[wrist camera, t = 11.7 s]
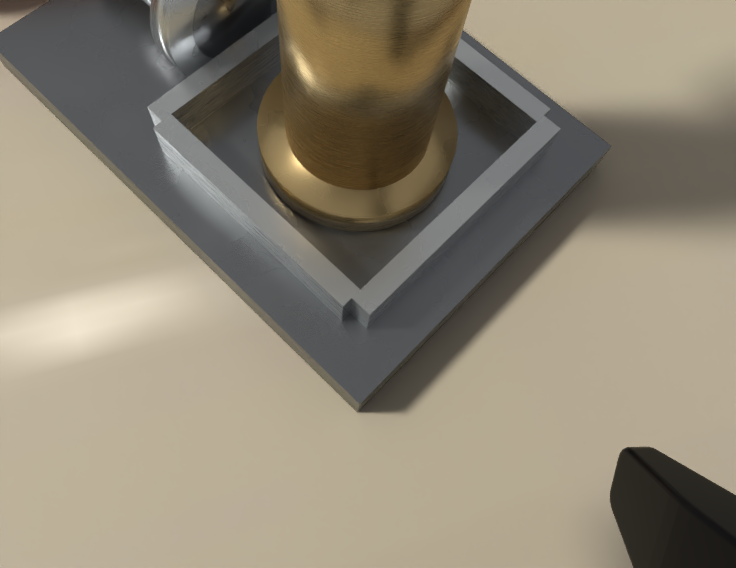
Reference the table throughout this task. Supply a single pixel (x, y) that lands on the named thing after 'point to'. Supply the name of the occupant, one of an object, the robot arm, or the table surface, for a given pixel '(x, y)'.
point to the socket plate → (255, 193)
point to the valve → (361, 108)
